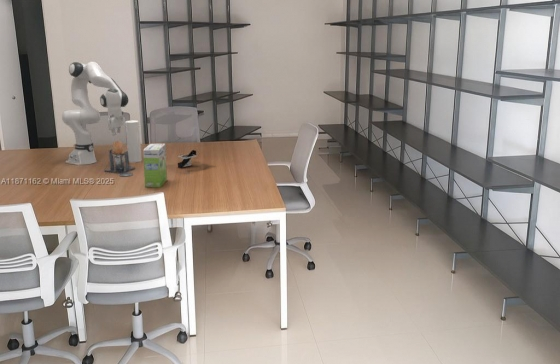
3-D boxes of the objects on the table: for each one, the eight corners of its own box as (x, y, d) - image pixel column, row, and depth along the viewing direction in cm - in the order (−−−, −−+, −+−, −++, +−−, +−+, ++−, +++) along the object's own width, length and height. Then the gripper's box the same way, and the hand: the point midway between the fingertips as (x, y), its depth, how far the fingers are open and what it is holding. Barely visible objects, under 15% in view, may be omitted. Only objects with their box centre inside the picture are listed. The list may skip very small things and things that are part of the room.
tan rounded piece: (109, 155, 364) (108, 142, 361) (115, 153, 369) (114, 140, 366) (122, 156, 360) (120, 143, 357) (127, 154, 365) (126, 141, 362)
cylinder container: (138, 162, 388) (134, 122, 380) (126, 162, 390) (122, 121, 381) (143, 159, 397) (140, 119, 388) (132, 159, 399) (128, 119, 390)
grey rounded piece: (116, 176, 354) (116, 175, 353) (125, 172, 361) (125, 171, 361) (127, 177, 350) (126, 176, 350) (135, 174, 358) (135, 173, 358)
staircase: (177, 168, 374) (176, 151, 371) (189, 165, 382) (188, 148, 378) (185, 170, 369) (184, 153, 365) (197, 167, 376) (196, 150, 372)
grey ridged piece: (104, 171, 364) (102, 151, 360) (118, 166, 377) (116, 147, 373) (121, 174, 358) (120, 153, 354) (135, 169, 371) (133, 149, 367)
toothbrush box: (161, 187, 328) (158, 149, 321) (144, 187, 328) (141, 149, 321) (168, 179, 345) (165, 143, 338) (152, 179, 345) (149, 143, 338)
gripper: (114, 116, 346) (116, 136, 350) (124, 111, 366) (125, 131, 370) (104, 116, 346) (106, 136, 350) (115, 111, 366) (117, 131, 370)
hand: (116, 134), depth 360 cm, fingers open, 8 cm apart
